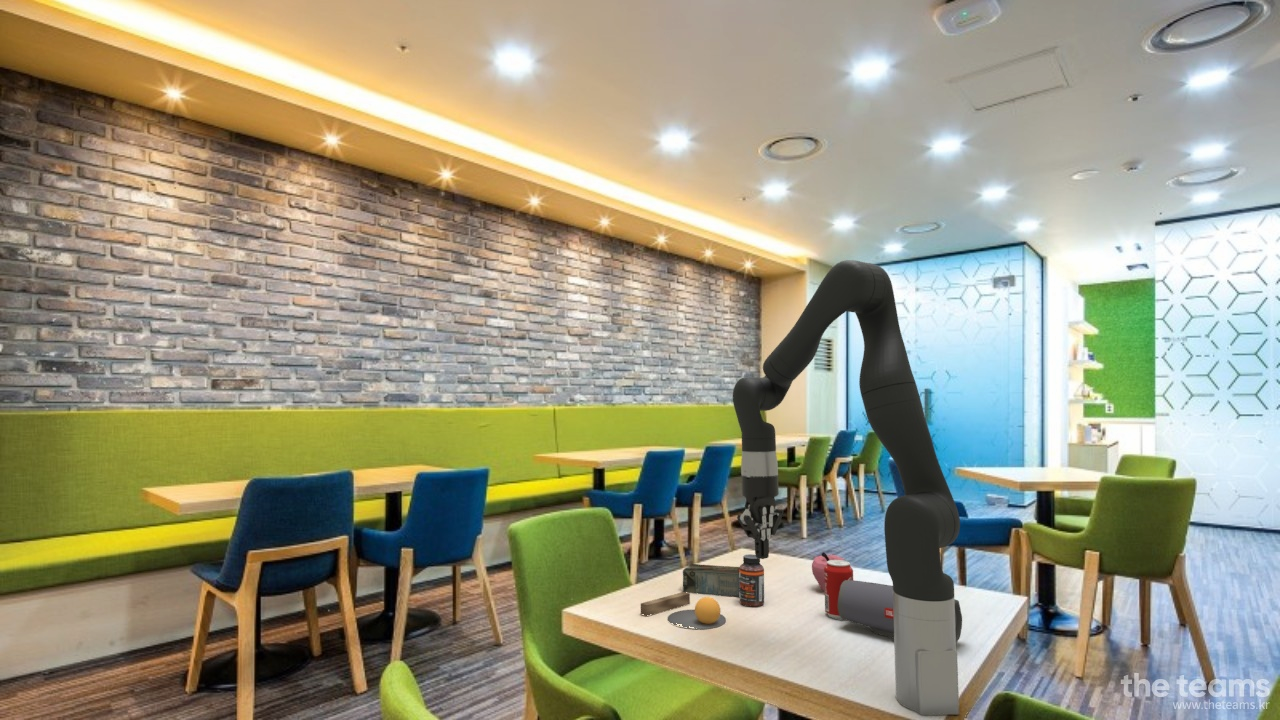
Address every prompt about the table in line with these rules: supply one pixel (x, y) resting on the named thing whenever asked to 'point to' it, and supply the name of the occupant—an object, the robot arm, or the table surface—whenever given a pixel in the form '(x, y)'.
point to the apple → (822, 567)
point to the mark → (693, 620)
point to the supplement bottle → (751, 581)
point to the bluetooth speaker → (875, 607)
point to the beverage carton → (711, 580)
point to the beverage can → (835, 584)
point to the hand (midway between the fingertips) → (762, 557)
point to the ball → (707, 610)
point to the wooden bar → (665, 603)
